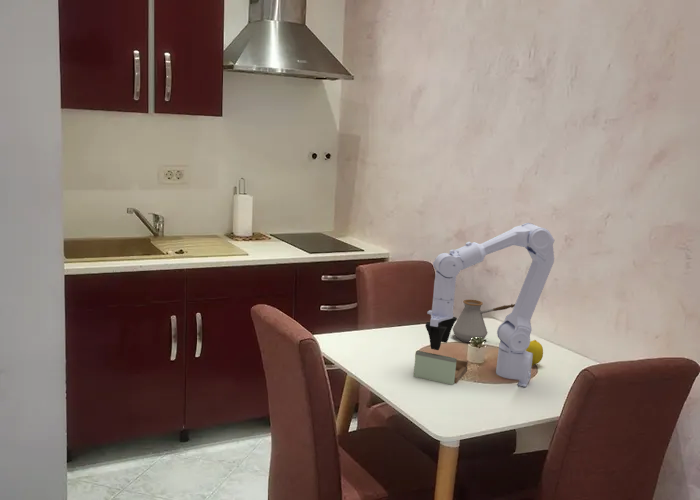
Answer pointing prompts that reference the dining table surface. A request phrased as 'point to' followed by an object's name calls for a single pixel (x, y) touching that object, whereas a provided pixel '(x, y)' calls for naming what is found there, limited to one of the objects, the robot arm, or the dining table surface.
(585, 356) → the dining table surface
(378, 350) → the dining table surface
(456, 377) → the tray
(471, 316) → the coffee pot
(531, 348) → the lemon
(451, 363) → the panel
